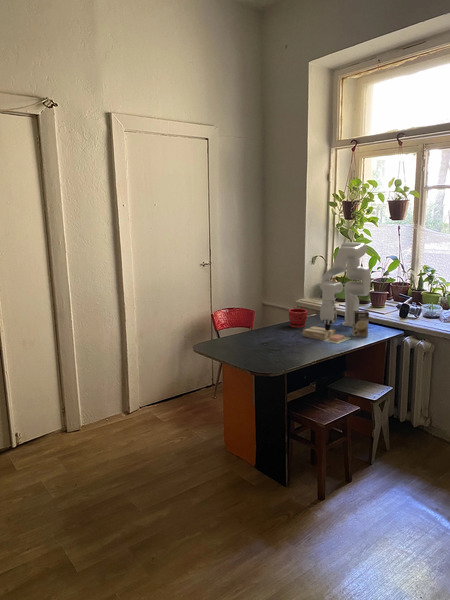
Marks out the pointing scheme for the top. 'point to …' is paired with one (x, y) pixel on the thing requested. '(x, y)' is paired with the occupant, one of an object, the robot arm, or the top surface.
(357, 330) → the coffee box
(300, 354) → the top surface
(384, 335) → the top surface
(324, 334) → the deck
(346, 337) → the mat
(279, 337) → the top surface
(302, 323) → the plant pot
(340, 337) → the salmon brown flat block
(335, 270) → the robot arm
